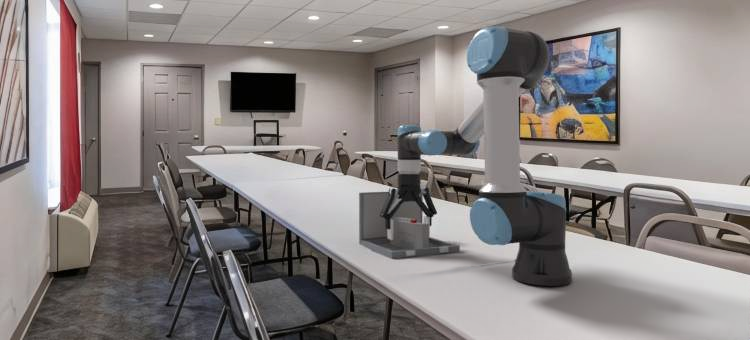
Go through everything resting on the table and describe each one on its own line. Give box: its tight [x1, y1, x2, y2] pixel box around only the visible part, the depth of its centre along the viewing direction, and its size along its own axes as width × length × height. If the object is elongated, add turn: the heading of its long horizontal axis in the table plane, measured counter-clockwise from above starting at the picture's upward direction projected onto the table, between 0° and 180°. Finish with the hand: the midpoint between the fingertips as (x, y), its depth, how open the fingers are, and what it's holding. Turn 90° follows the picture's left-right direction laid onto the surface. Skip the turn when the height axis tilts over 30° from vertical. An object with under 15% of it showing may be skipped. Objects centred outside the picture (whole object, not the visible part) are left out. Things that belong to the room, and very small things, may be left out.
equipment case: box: [358, 191, 461, 260], centre depth 167 cm, size 24×24×18 cm
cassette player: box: [389, 217, 430, 250], centre depth 167 cm, size 16×3×10 cm, turn 39°
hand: (408, 237), depth 167 cm, fingers open, 13 cm apart
